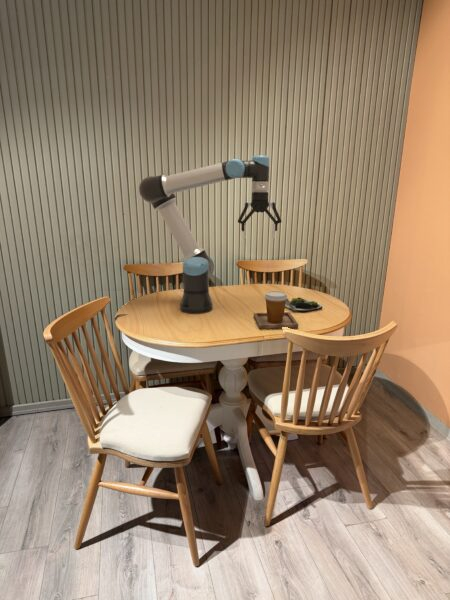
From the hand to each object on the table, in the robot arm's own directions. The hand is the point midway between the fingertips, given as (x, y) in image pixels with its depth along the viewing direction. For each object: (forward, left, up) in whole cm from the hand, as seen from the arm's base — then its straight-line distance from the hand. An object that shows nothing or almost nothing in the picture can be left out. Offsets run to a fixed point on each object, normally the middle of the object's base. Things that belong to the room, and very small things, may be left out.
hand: (259, 238), depth 195 cm
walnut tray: (+3, -30, -32) cm, 43 cm away
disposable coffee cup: (+3, -30, -31) cm, 43 cm away
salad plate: (+20, -9, -32) cm, 39 cm away
